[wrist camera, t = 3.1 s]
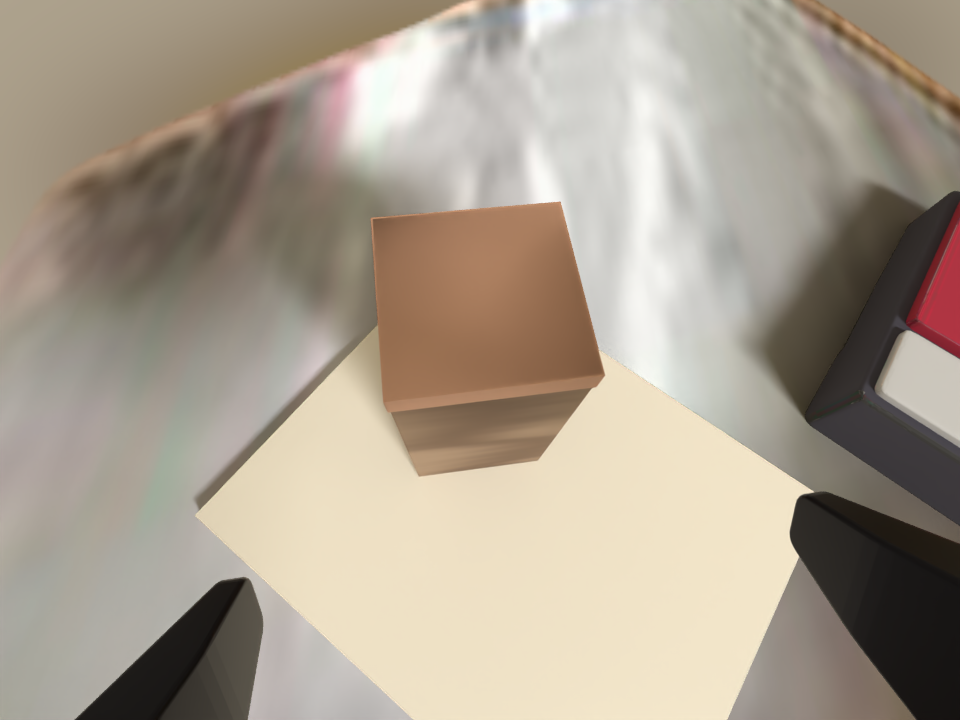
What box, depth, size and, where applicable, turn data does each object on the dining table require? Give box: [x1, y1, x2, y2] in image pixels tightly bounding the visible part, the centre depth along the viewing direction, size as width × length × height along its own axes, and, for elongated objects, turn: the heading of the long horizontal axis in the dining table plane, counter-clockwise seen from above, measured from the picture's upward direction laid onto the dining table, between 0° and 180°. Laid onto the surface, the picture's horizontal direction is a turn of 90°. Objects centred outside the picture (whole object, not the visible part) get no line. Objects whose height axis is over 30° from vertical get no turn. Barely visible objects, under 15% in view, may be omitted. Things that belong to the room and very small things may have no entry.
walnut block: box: [371, 202, 605, 477], centre depth 17 cm, size 5×5×10 cm
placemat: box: [195, 325, 814, 720], centre depth 20 cm, size 20×16×1 cm
